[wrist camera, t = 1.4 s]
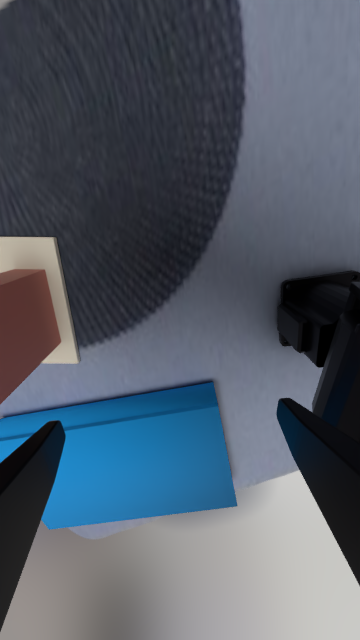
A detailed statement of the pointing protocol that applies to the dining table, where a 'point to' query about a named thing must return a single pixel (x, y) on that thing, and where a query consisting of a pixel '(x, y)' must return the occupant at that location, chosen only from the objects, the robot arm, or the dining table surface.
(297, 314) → the robot arm
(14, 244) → the mat
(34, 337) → the card box
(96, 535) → the dining table surface
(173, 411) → the book
